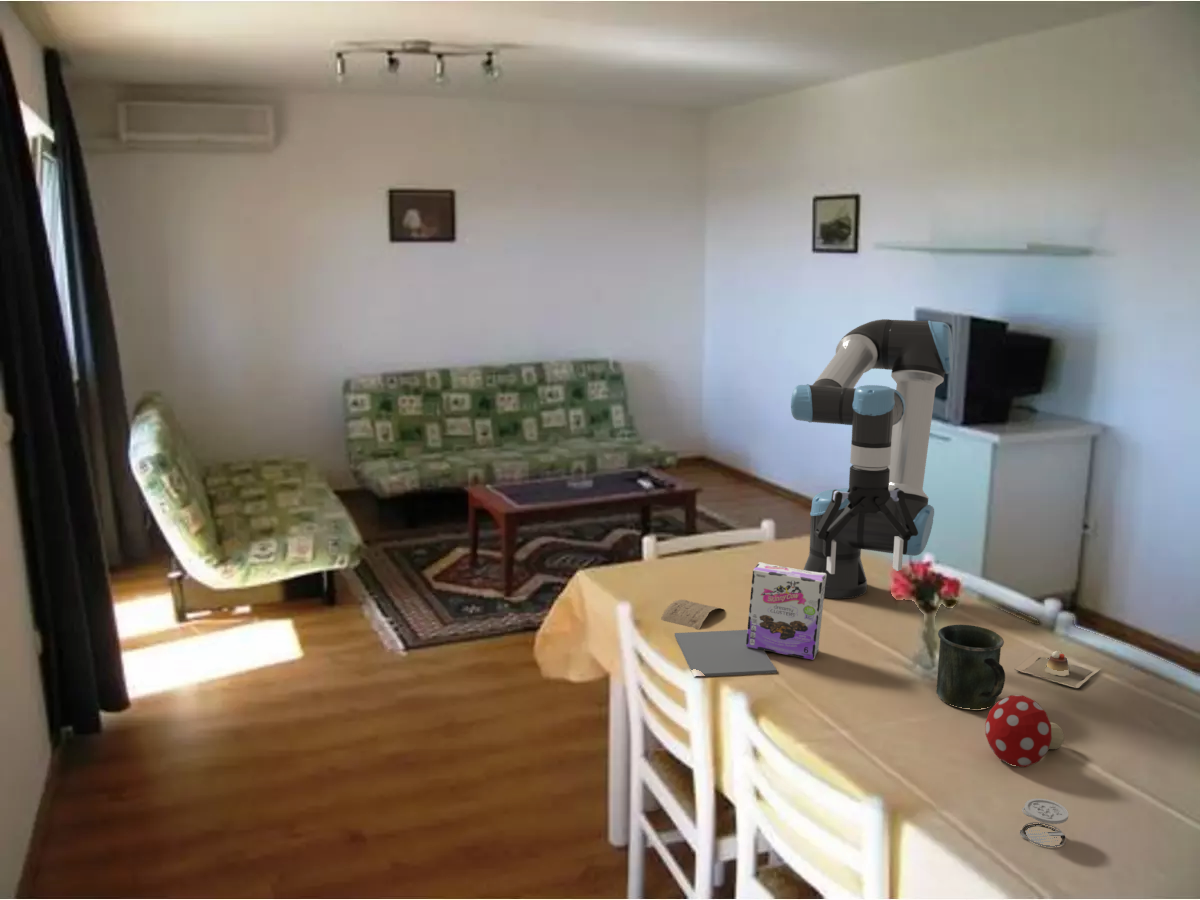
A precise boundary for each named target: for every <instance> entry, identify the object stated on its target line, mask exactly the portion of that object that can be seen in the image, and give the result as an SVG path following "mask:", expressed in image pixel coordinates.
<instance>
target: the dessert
mask: <svg viewBox="0 0 1200 900" xmlns="http://www.w3.org/2000/svg"><path fill="white" fill-rule="evenodd" d="M1051 654H1052V655H1051V656H1050V658H1049V659H1047V662H1046V665H1047V667H1049V668H1051V669H1053V670H1057V671H1064V670H1068V669H1069V670H1070V665H1068V660H1067V659H1068V658H1067V657H1066V656H1065V654H1064V653H1062V651H1060V653H1059V650H1055V651H1053V652H1052V653H1051Z"/></svg>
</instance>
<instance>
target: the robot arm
mask: <svg viewBox="0 0 1200 900" xmlns="http://www.w3.org/2000/svg"><path fill="white" fill-rule="evenodd" d="M953 367H954V346H953V336H952V330H951V327H950V326H949V324H948V323H946V322H943V321H932V320H931V319H930V320H908V319H888V318H887V319H883V318H882V319H877V320H872V321H869V322H867V323H863V324H861V325H859V326H857V327H855V328H854V329H851V330H850V331H849V332H848V333H846V334H845V335H844V336H843V337H842V338H841V340H839V341H838V343H837V345H836V348H835V355H834V356H833V357H832V359H831V360H830V361H829V363H828V364H827V365H826V366H825V368H824V370H823V371H821V373H820V374H819V376H818V377H817V378H816V380H815V381H814V383H813V384H808V383H807V384H798V385H796V386H795V387H794V389H793V391H792V394H791V399H790V411H791V416H792V417H793V419H794V420H796V421H802V422H808V423H817V424H818V423H820V424H830V425H831V424H833V425H834V424H835V425H845V426H851V428H852V429H851V445H850V462H849V463H850V464H851V466H850V467H849V476H848V477H849V478H848V479H849V480H848V488H834V489H828V490H823V491H821V492H818V493H817V494H815V496H814V497H813V498H812V501H811V509H810V513H809V515H810V529H809V531H810V532H809V553H808V557H807V559H806V562H805V564H804V567H803V569H802V570H806V571H812V572H819V573H826V575H827V576H826V583H825V592H824V598H829V599H852V598H857V597H861V596H863V595H864V594H865V593H866V592H867V590H868V589H867V587H868V582H867V581H868V580H867V577H866V573H865V569H864V566H863V563H862V558H861V555H862V554H861V553H862V550H866V551H874V552H881V553H886V554H888V553H889V554H893V555H892V568H893V570H895V571H896V572H897V571H899V570H903V568H902V567H903V556H911V557H912V556H919V555H921V554H922V553H923V552H924V550H925V549H926V547H927V545H928V542H929V539H930V535H931V532H932V528H933V524H934V518H935V517H934V516H935V508H934V507H933V505H931V504H929V497H928V495H927V494H926V492H925V491H924V489H923V487H924V483H925V482H924V481H925V473H926V467H927V466H926V465H927V457H928V450H929V443H930V436H931V435H930V434H931V426H932V418H933V412H934V411H933V409H934V402H935V396H936V388H937V387H938V386H940V384H942V383H944V382H945V381H944V380H945V374H946V375H948V374H951V373H952V372H953V369H954V368H953ZM872 369H873V370H874V369H875V370H877V369H879V370H890V371H891V375H890V376H891V378H892V379H893V380H894V382H895V383H896V389H894V388H891V387H890V386H886V385H879V384H878V385H877V384H876V385H875V384H874V385H873V384H866V385H859V386H858V387H856V386H857V384H858V382H859V381H860V379H861V378H862V376H863V375H864V374H866V373H867V372H869V371H871V370H872ZM855 387H856V388H855Z"/></svg>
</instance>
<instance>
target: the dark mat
mask: <svg viewBox="0 0 1200 900" xmlns="http://www.w3.org/2000/svg"><path fill="white" fill-rule="evenodd" d="M674 637H675V639H676V642H677V644H678V646H679V648H680V650H681V652H682V655H683V657H684V660H685V661H686V663H687V665H688V668H689V669H691V670H693V669H696V670H699V671H701V672H702V673H703V674H704V675H705V676H706V677H721V676H722V677H723V676H725V677H726V676H741V675H742V676H743V675H746V676H747V675H759V674H761V675H762V674H766V675H767V674H778V672H777V671H778V670H777V668H776V666H775V665H774V664H773V661H772V660H771V659H770V658H769V656H768V655H767V652H766V651H765V650H761V649H755V648H750V647H746V639H747V629H736V630H734V629H733V630H732V629H731V630H715V631H710V630H709V631H690V632H674ZM691 670H690V671H691Z"/></svg>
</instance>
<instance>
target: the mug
mask: <svg viewBox="0 0 1200 900" xmlns="http://www.w3.org/2000/svg"><path fill="white" fill-rule="evenodd" d="M937 635H938V638H939V650H938V651H939V652H938V664H937V665H938V666H937V676H936V677H937V679H936V695H937V696H938V698H939V697H940V698H941V699H942V700H943V701H945V702H946V703H945V702H944V703H945V704H947V703H948V704H947V705H949V704H951V705H954V706H957V707H962V708H970V709H981V708H987V707H990V706H992V705H993V706H994V705H995V704H996V703H997V697H999V696H1000V695H1001V694H1002V692H1003V689H1004V687H1005V683H1006V672H1005V669H1004V667H1003V665H1001V663H1000V661H1001V660H1000V658H1001V650H1002V649H1001V648H1002V647H1003V645H1004V643H1005V642H1004V638H1003V637H1002V636H1001V635H1000V634H999V633H997V632H995V631H993V630H991V629H989V628H985V627H981V626H979V625H971V624H950V625H946V626H943V627H942V628H940V629H939V630H938V631H937ZM940 698H939V699H940ZM941 699H940V700H941ZM942 700H941V701H942ZM943 701H942V702H943ZM995 702H996V703H995ZM951 705H950V706H951ZM993 706H992V707H993Z"/></svg>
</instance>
